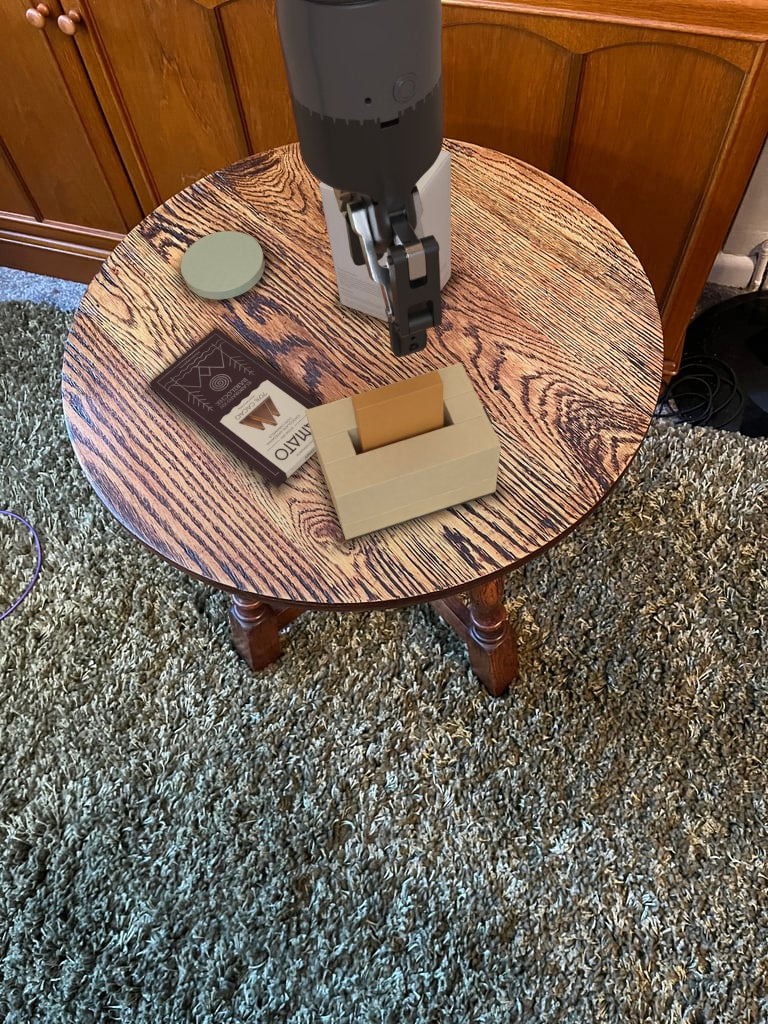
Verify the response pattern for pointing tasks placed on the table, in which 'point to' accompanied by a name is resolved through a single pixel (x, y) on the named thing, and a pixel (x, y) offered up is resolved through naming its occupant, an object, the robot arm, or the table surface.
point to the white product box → (356, 280)
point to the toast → (399, 411)
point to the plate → (223, 265)
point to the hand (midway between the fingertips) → (387, 303)
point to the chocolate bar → (242, 405)
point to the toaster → (407, 461)
